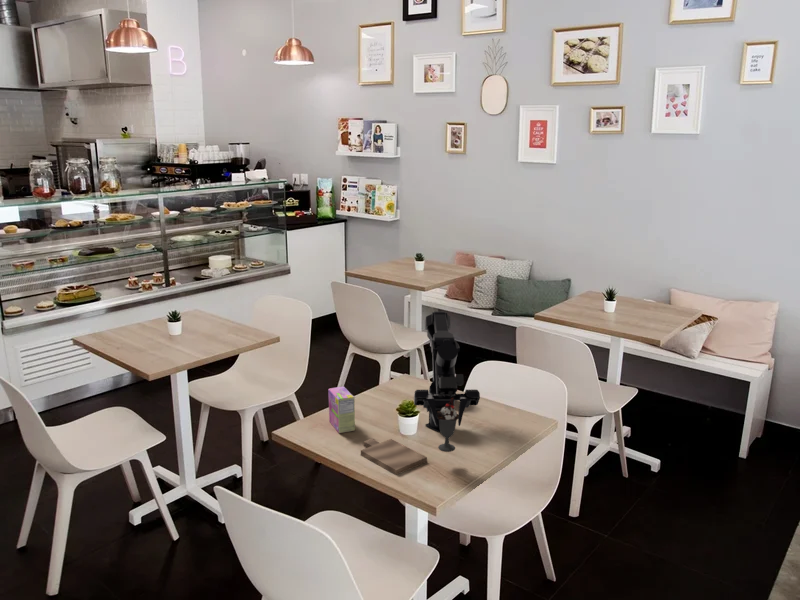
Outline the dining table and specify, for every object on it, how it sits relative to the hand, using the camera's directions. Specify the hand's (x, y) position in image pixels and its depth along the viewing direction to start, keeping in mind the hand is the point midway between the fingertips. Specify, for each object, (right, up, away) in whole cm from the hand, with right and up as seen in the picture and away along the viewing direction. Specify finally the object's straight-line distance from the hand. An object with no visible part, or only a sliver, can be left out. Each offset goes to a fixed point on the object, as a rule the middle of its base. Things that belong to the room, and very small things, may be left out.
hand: (448, 425), depth 189 cm
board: (-17, -11, +9) cm, 22 cm away
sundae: (0, -7, +3) cm, 8 cm away
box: (-33, -6, +29) cm, 44 cm away
